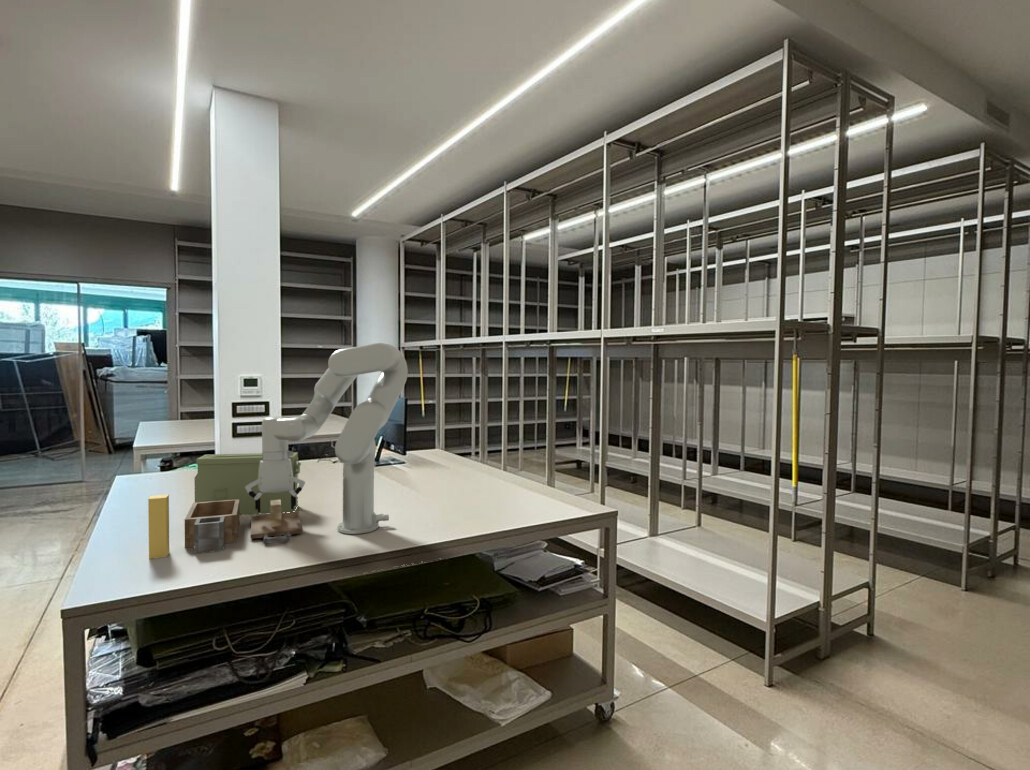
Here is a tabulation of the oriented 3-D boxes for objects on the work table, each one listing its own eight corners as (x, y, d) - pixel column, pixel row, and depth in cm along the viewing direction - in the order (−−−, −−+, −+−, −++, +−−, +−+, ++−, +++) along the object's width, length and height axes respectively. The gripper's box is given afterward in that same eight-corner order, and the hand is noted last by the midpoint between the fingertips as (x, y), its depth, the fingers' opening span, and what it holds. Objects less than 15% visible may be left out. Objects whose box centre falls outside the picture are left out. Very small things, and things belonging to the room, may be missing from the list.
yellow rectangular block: (169, 551, 149) (168, 494, 148) (166, 556, 145) (166, 497, 145) (152, 553, 147) (151, 495, 147) (149, 558, 143) (148, 498, 143)
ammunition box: (297, 512, 190) (297, 456, 189) (193, 517, 182) (193, 458, 181) (301, 505, 199) (301, 451, 198) (202, 510, 191) (202, 453, 191)
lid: (297, 518, 184) (297, 494, 183) (302, 542, 159) (302, 514, 159) (251, 522, 178) (251, 498, 178) (250, 548, 153) (250, 519, 153)
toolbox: (239, 523, 176) (239, 499, 175) (235, 548, 152) (235, 520, 151) (193, 527, 170) (193, 502, 170) (181, 555, 146) (181, 525, 146)
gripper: (304, 452, 177) (304, 504, 178) (245, 456, 170) (245, 509, 171) (305, 456, 171) (305, 509, 171) (244, 459, 163) (244, 516, 164)
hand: (275, 509), depth 171 cm, fingers open, 9 cm apart
